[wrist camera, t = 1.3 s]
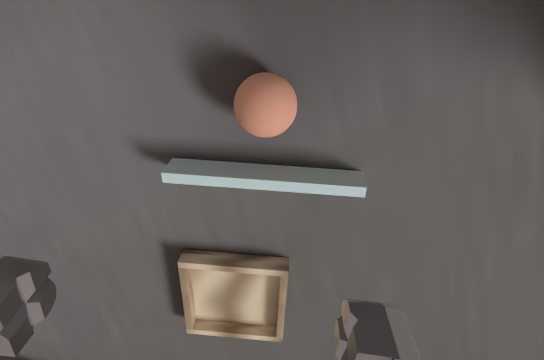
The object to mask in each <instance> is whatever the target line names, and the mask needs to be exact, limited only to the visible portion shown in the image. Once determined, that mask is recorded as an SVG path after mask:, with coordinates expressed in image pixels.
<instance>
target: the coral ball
mask: <svg viewBox="0 0 544 360" xmlns="http://www.w3.org/2000/svg"><path fill="white" fill-rule="evenodd" d="M234 112H235V116H236V118H237V120H238V122H239V123H240V125H241V126H242V127H243V128H244V129H245V130H246V131H247V132H249V133H250V134H252V135H255V136H258V137H273V136H276V135H279V134H281V133H283V132H284V131H285V130H286V129H287V128H289V126H290V125H291V124H292V122H293V121H294V118H295V116H296V112H297V98H296V94H295V92H294V89H293V88H292V86H291V85H290V84H289V82H288V81H287V80H285V79H284V78H283V77H281V76H279V75H277V74H274V73H269V72H262V73H257V74H254V75H252V76H250V77H248V78H247V79H245V80H244V81H243V82H242V83H241V85H240V86H239V87H238V89H237V91H236V94H235V97H234Z"/></svg>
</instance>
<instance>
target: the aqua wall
mask: <svg viewBox="0 0 544 360" xmlns="http://www.w3.org/2000/svg"><path fill="white" fill-rule="evenodd" d="M161 174H162V181H163V183H176V184H190V185H203V186H217V187H231V188H244V189H258V190H271V191H285V192H299V193H312V194H326V195H339V196H353V197H365V194H366V189H367V187H366V184H365V180H364V177H363V174H362V171H353V170H339V169H324V168H310V167H296V166H282V165H268V164H253V163H239V162H225V161H211V160H196V159H182V158H172V159H171V160H170V162H169V163H168V164H167V166H166V167H165V168H164V170H163V171H162V172H161Z"/></svg>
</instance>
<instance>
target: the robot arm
mask: <svg viewBox="0 0 544 360" xmlns="http://www.w3.org/2000/svg"><path fill="white" fill-rule="evenodd" d="M50 273H51V270H50V267H49V264H48V263H47V262H43V261H36V260H30V259H23V258H17V257H10V256H2V255H0V356H10V357H16V356H17V355H18V353H19V352H20V351H21V349H22V348H23V347H24V345H25V344H26V343H27V341H28V340H29V339H30V337H31V336H32V335H33V334H34V333H33V325H35V324H36V323H38V322H40V321H41V320H43V319H45V318H46V316H47V315H48V313H49V312H50V311H51V309H52V307H53V304H54V301H55V299H56V287H55V284H54V283H53V282H52V281H51V280H50V279H49V278H48V275H49V274H50ZM341 312H342V316H341V317H339V318H338V319H337V322H336V325H335V332H334V349H335V355H336V356H337V357H338V359H339V360H421V358H420V355H419V352H418V349H417V347H416V344H415V341H414V338H413V335H412V333H411V330H410V327H409V324H408V322H407V319H406V316H405V313H404V311H403V308H402V307H401V306H400V305H393V304H385V303H378V302H369V301H361V300H352V299H345V300H344V301H343V303H342V306H341Z"/></svg>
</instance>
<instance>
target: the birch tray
mask: <svg viewBox="0 0 544 360" xmlns="http://www.w3.org/2000/svg"><path fill="white" fill-rule="evenodd" d="M178 270H179V277H180V285H181V292H182V300H183V307H184V314H185V322H186V329H187V333H190V334H201V335H212V336H223V337H233V338H244V339H255V340H266V341H277V342H282V340H283V329H284V318H285V307H286V296H287V285H288V274H289V258H286V257H274V256H261V255H249V254H237V253H225V252H213V251H200V250H188V249H183V251H182V253H181V255H180V258H179V260H178Z"/></svg>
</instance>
